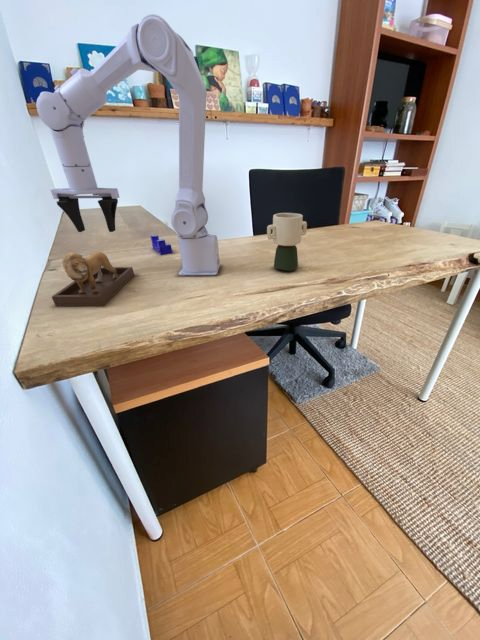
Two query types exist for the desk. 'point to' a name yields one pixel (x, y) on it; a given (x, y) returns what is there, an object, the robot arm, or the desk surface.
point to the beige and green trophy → (286, 239)
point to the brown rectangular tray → (100, 298)
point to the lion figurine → (87, 268)
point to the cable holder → (160, 245)
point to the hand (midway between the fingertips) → (97, 231)
